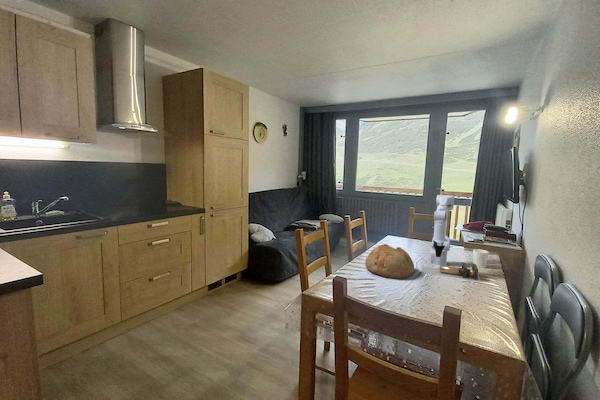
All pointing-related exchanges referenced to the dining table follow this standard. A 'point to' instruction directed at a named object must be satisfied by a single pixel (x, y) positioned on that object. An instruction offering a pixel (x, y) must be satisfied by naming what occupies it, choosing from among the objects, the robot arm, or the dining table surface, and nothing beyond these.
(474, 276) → the collar
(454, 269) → the copper tube
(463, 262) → the dark gray arch
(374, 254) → the bread
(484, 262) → the white cup
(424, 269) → the pale gray board
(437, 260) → the robot arm
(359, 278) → the dining table surface
